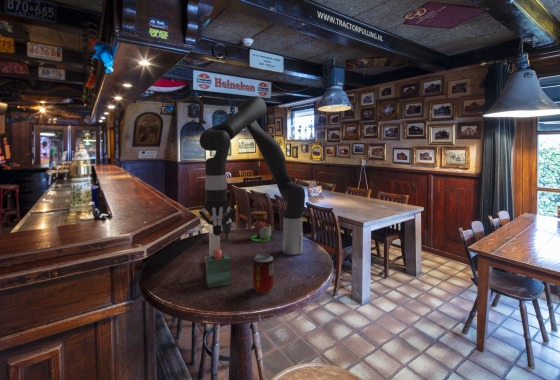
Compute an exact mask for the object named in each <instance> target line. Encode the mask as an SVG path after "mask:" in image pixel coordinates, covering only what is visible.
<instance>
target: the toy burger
mask: <svg viewBox="0 0 560 380" xmlns="http://www.w3.org/2000/svg"><path fill="white" fill-rule="evenodd" d="M267 213H268V212H267V211H264V210H255V211H254V212H253V213H252V214H253V215H252V216H253V217H252V219H253V220H257V221H256V222H255V223H254V224H253V227H254V230H256V232H255V235H252V236H250V241H252V242H257V243H259V242H260V243H261V242H262V243H263V242H267V241H269V240H271V239H270V237H271V236H272V224H270V223H268V224H269V226H265V224H264V222H263V220H267V219H268V217H267V216H268V215H267Z"/></svg>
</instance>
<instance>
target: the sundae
mask: <svg viewBox="0 0 560 380" xmlns="http://www.w3.org/2000/svg"><path fill="white" fill-rule="evenodd" d="M232 224H233V221H232V219H231V217H230V218H229V219H228V221H227V222H226V223H224V224H222V225H221V231H222V232H223V234H225V238H223V239H222V241H223V242H225V243H226V242H231V241H232V238H229V234H230V233H231V230H232Z"/></svg>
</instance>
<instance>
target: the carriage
mask: <svg viewBox="0 0 560 380" xmlns="http://www.w3.org/2000/svg"><path fill="white" fill-rule="evenodd" d="M208 243H209V244H208V245H209V246H208V247H209V248H208V249H209V256H213V255H214V250H217V249H220V250H221V235H220V236H215V234H213V230H208Z"/></svg>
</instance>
